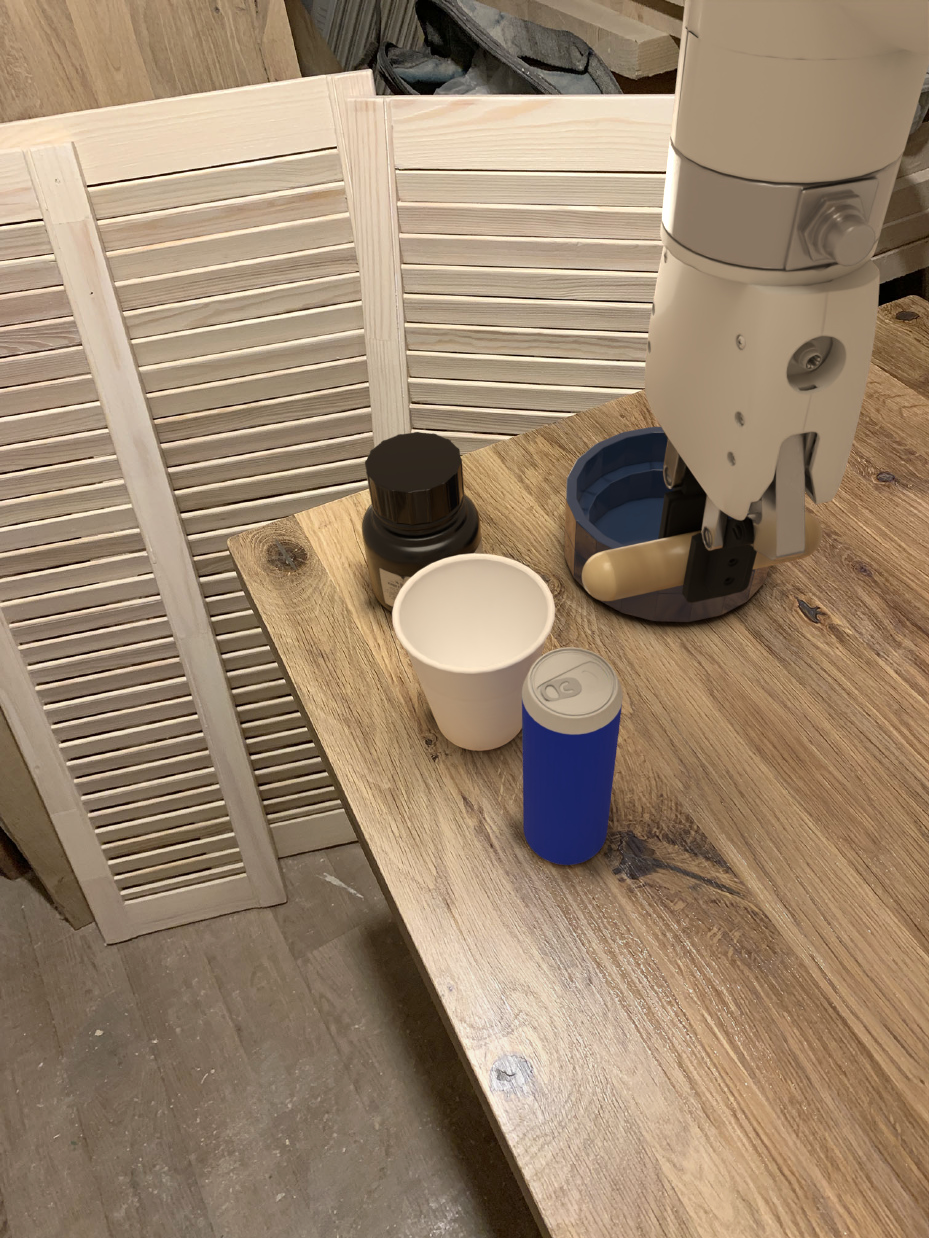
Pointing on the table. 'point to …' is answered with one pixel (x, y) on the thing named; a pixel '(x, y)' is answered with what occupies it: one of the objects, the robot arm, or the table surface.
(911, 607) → the table surface
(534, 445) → the table surface
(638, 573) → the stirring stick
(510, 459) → the table surface
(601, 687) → the beverage can
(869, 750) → the table surface
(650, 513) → the bowl
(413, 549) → the ink bottle
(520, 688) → the cup
